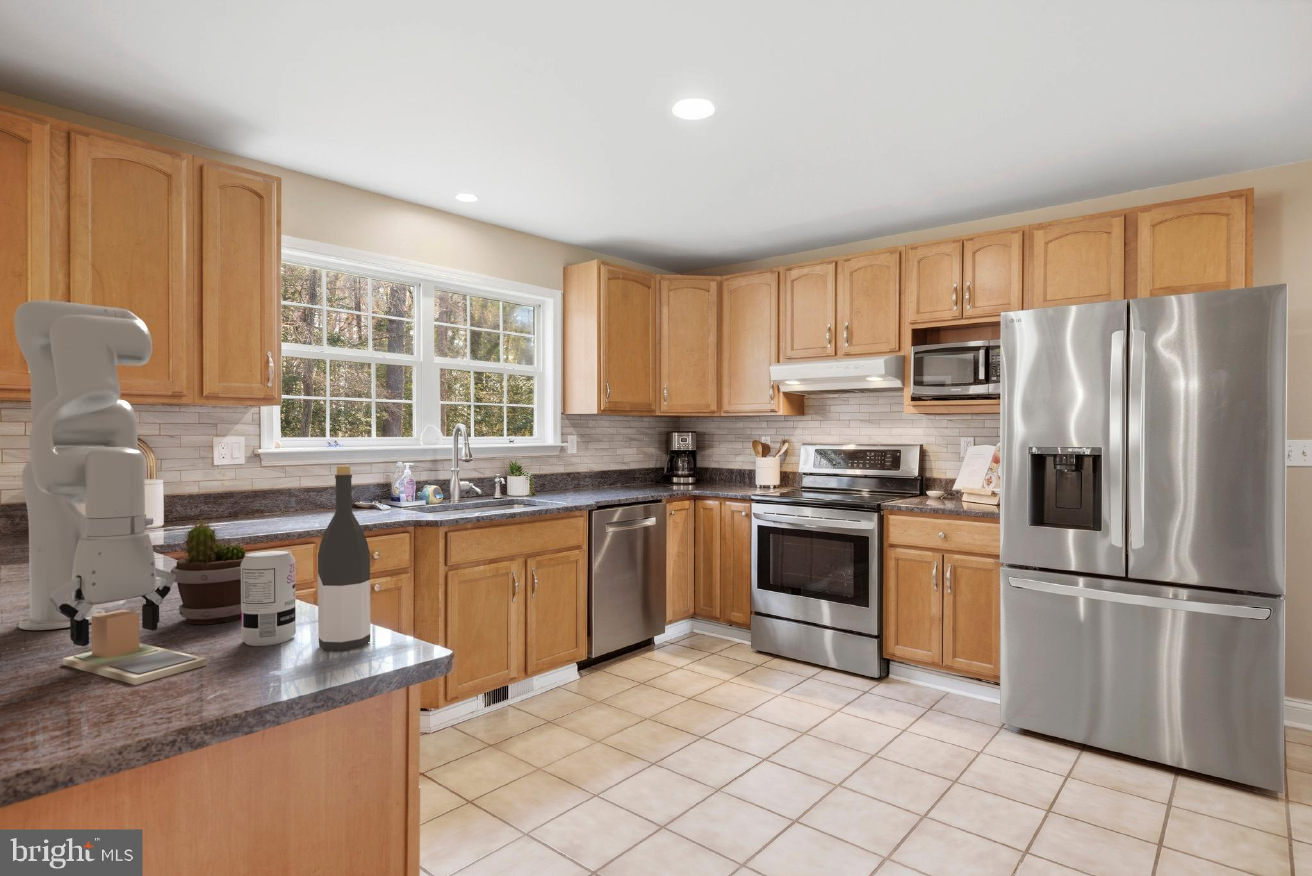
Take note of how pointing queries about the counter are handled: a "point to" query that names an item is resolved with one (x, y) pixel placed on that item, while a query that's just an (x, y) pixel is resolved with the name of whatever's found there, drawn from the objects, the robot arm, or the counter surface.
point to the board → (137, 664)
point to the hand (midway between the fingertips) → (116, 636)
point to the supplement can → (268, 597)
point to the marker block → (115, 633)
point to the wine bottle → (343, 576)
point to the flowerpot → (209, 578)
